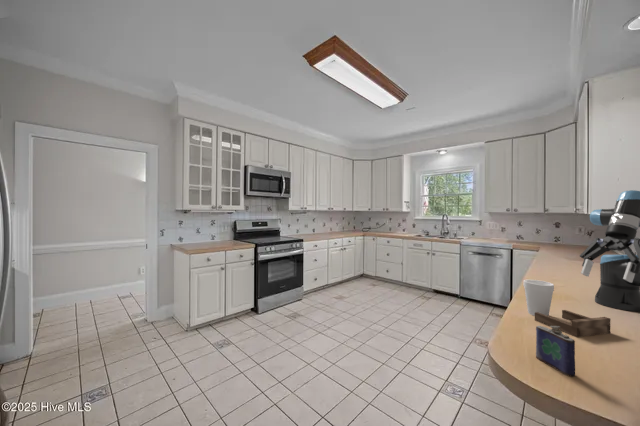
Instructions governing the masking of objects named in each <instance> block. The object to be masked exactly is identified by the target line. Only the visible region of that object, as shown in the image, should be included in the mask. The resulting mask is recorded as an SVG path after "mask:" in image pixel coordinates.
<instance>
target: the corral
mask: <svg viewBox="0 0 640 426" xmlns="http://www.w3.org/2000/svg"><path fill="white" fill-rule="evenodd" d="M561 318H562V319H564V320H566V321H567V320H568V321H570V322H571V323H568V322H565V321H563V320H560V319H559V318H554V317H552V316H549V315H548V316H547V315H544V314H541V313H539V312H535V316H534V321H536V322H538V323H540V324H543V325H545V326H548V327H550V326H559V327H558V330H560V331H561V332H562V333H566V334H568V335H571V336H573V337H576V338H580V337H590V336H597V335H598V336H599V335H605V334H606V335H607V334H611V318H609V317H606V316H600V317H589V316H585V315H582V314H579V313H576V312H572V311H569V310H567V309H561Z"/></svg>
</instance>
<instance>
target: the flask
mask: <svg viewBox="0 0 640 426" xmlns="http://www.w3.org/2000/svg"><path fill="white" fill-rule="evenodd" d="M549 327H550V328H548V327H546V326H542V325H536V326H535V331H536V332H535V333H536V335H535V337H536V340H535V341H536V342H535V343H536V344H535V345H536V347H535V357H536V358H537V360H538V361H541V362H543V363H545V364H546V365H548V366H549V367H551V368H553V369H555V370H557V371H559V372H560V373H562V374H564V375H565V376H568V377H571V378H575V377H576V359H575V357H576V353H575V352H576V351H575V350H576V346H575V345H576V341H575V339H573V338H572V337H570V336H569V335H567V334H564V333H563V331H560V330H558V327H559V326H549Z"/></svg>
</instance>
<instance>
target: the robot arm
mask: <svg viewBox="0 0 640 426" xmlns="http://www.w3.org/2000/svg"><path fill="white" fill-rule="evenodd" d="M615 202H616V203H615V205H614V208H608V209H607V208H601V209H599V208H598V209H594V210H592V211H591V212H590V214H589V221H590V222H591V224H593V225H595V226H600V227H601V226H602V227H604V226H605V227H606V230H605V232H604V235H605V237H604V238H600V237H595V238H594V239H593V242H592V243H591V244H589V245H588V246H587V248H586V249H585V250H583V251H582V253H580V254H579V258H581V259H583V260H582V261H583V262H582V264H581V267H582V269H581V272H580V274H581V275H583V276H585V277H589V276H590V273H591V271H592V268H593V265H594V260H596V259H597V258H599V257H600V262H599V265H600V266H599V267H600V271H599V272H600V278H599V279H600V285H599V287H598V290H597V291H596V293H595V296H594V302H595V303H596V304H599V305H601V306H606V307H608V308H613V309H616V310H617V309H619V310H623V311H629V312H631V311H632V312H640V238H639V237H636V235H637V231H638V230H639V228H640V190H636V189H635V190H634V189H633V190H624V191H622V192H620V193H619V195H618V197H617V199H616V201H615ZM632 245H633V247H634V249H635V252H636V254H635V253H634V252H633V250H632V248H631V247H630V246H632ZM610 251H619V252H621V251H622V252H624V253H625V254H605V253H606V252H610Z"/></svg>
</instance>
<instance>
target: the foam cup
mask: <svg viewBox="0 0 640 426" xmlns="http://www.w3.org/2000/svg"><path fill="white" fill-rule="evenodd" d="M523 288H524V294H525V302H526V307H527V308H526V309H527V312H528V314H529V315H531V316H533V317H535V312H539V313H541V314H544V315H547V316H549V315H550V310H551V304H552V299H553V295H554V291H555V284H554V283H553V282H552V283H551V282H549V281H545V280H539V279H523Z"/></svg>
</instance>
